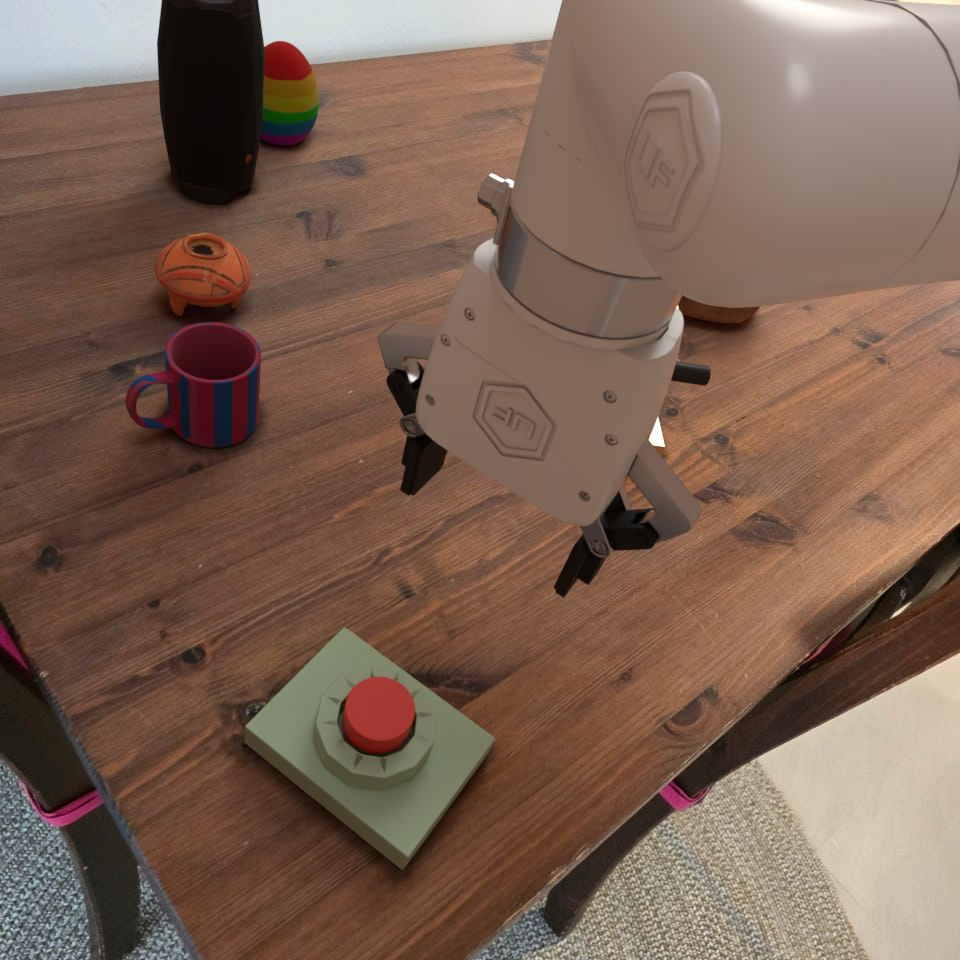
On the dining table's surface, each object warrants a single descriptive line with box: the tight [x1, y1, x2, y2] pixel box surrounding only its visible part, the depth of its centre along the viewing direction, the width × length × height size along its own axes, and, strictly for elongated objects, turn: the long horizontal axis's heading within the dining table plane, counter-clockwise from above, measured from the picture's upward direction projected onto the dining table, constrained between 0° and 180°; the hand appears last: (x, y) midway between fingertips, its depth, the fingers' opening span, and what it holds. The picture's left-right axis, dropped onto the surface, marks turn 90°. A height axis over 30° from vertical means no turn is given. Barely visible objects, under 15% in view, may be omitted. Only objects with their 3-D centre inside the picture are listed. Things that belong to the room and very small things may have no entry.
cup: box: [125, 321, 262, 449], centre depth 66 cm, size 7×10×7 cm
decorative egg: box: [261, 40, 320, 147], centre depth 96 cm, size 8×8×10 cm
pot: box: [154, 232, 252, 316], centre depth 76 cm, size 8×8×7 cm
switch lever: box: [670, 356, 712, 387], centre depth 69 cm, size 12×5×2 cm, turn 1°
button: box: [342, 677, 415, 754], centre depth 51 cm, size 4×4×2 cm
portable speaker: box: [156, 0, 265, 204], centre depth 83 cm, size 9×9×20 cm
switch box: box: [243, 626, 496, 871], centre depth 53 cm, size 12×9×4 cm
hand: (494, 527), depth 47 cm, fingers open, 9 cm apart
